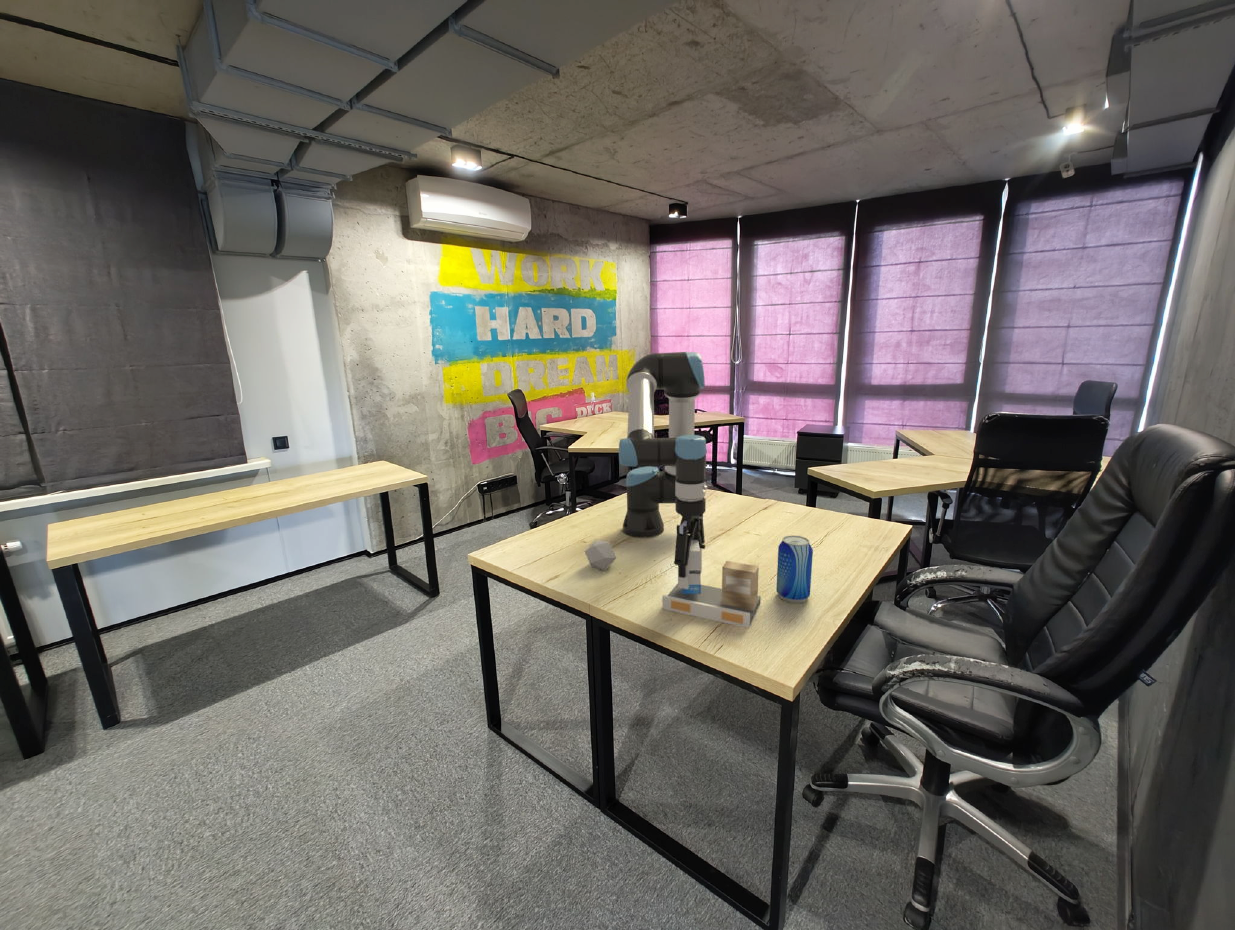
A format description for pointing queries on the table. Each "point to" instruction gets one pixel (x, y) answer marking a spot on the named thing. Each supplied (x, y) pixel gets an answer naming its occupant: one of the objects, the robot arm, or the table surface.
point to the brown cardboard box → (740, 585)
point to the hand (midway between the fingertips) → (690, 579)
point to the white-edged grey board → (708, 606)
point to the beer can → (794, 569)
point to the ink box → (694, 569)
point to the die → (600, 554)
